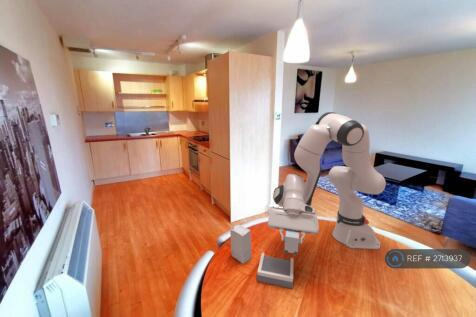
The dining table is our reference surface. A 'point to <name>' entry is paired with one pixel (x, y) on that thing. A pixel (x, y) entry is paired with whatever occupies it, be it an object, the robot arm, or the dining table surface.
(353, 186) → the robot arm
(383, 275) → the dining table surface
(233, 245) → the skincare box
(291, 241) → the white footed cube
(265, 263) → the dock
